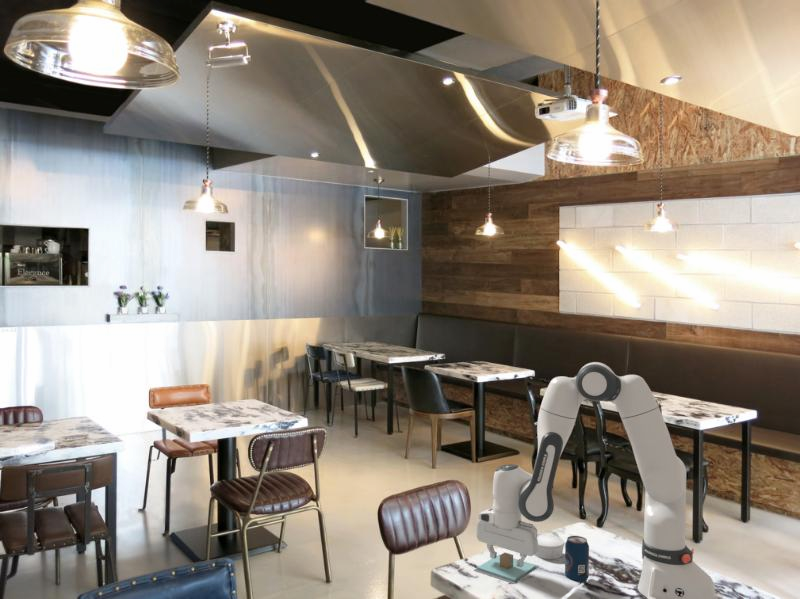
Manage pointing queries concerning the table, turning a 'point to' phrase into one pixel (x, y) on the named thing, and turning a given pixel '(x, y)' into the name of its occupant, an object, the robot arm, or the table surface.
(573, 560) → the soda can
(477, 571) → the mat
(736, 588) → the table surface
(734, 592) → the table surface
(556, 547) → the ramekin
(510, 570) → the cover sheet
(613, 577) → the table surface
